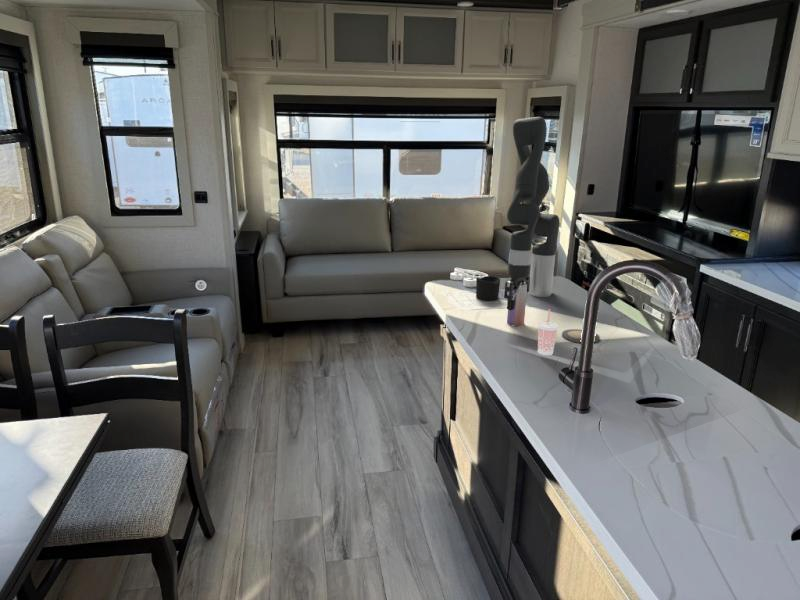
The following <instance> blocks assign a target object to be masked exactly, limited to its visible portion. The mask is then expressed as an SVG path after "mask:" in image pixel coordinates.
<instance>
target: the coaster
mask: <svg viewBox="0 0 800 600" xmlns="http://www.w3.org/2000/svg"><path fill="white" fill-rule="evenodd" d="M582 330H583V329H581V328H580V329H578V328H577V329H576V328H575V329H574V328H571V329H566V330H563V331H562V333H561V337H562V338H563V339H565V341H569V342H572V343H578V344H581V343H580V340H581V333H582ZM600 337H601V336H600V335H599V334H598V333H596V336H595V343H599V342H600ZM595 343H594V344H595Z"/></svg>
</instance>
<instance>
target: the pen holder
mask: <svg viewBox="0 0 800 600" xmlns="http://www.w3.org/2000/svg"><path fill="white" fill-rule="evenodd" d="M500 285H501V278H500V277H497V276H493V275H492V276H491V275H488V276H486V277H483V278H476V287H475V288H476V290H475V298H476V299H477V300H479V301H483V302H496V301H497V300H499V295H500Z"/></svg>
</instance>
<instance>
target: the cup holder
mask: <svg viewBox="0 0 800 600" xmlns="http://www.w3.org/2000/svg"><path fill="white" fill-rule="evenodd" d="M477 275H478V276H477ZM486 276H489V275H488V273H484V272H482V271H478V270H473V269H464V268H461V267H455V268H454V271H453V272H450V277H449V278H450V280H454V281H462V282H463V286H464V287H467V288H476V278H483V277H486Z"/></svg>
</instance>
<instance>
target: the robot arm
mask: <svg viewBox="0 0 800 600" xmlns="http://www.w3.org/2000/svg"><path fill="white" fill-rule="evenodd" d="M547 128H548V127H547V122H546V120H545V118H544V117H543V116H533V117H525V118H524V117H523V118H518V119H516V120H514V121H513V124H512V134H513V139H514V144H515V147H516V152H517V155H518V158H519V162H520V167H519V169H518V172H517V175H516V179H515V190H514V194H513V197H512V200H511V202H510V206H509V208H508V210H507V214H506V217H507V221H508V222H509V224H511V225H520V226H527V227H526V228H525V229H523V230H518V231H513V232H512V233H511V236H510V246H509V247H510V249H509V253H508V262H507V263H508V264H507V275H508V276H509V277H510V281H509V280H508V281H507V280H506V281H505V285H504V292H503V294H504V296H503V297H504V299H507V303H506V310H507V311H508V310H513V309H514V298H515V296H516V295H517V294H518V292H519V287H520V286H522V284H527V285H526V286H527V293H526V295H527V294H529V295H531V296H532V297H538V298H547V297H551V296H552V293H553V292H552V291H553V282H554V273H555V272H554V271H555V270H554V269H555V262H556V261H555V260H556V250H557V245H558V236H559V233H560V232H559V229H560V217H559V215H557V214H554V213H553V214H552V213H541V211H540V206H541V204H542V203H543V201H544V199H545V198H546V196H547V195H548V192H549V189H550V180H549V179H550V178H549V174H548V170H547V168H546V167H545V166H544V164H543V163H541V162H542V161H541V160H542V157H543V153H544V148H545V144H546V140H547V139H546V138H547ZM529 146H533V148H532V150H530V148H529ZM523 202H527V203H523ZM533 236H536V237H540V238H541V237H542V238H545V239H546V240H545V241H544V242H542V243H540V244H535V245H533V246H532V243H533V242H532V241H533ZM517 285H518V286H517ZM513 289H516V291H513ZM512 294H513V296H512Z"/></svg>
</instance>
